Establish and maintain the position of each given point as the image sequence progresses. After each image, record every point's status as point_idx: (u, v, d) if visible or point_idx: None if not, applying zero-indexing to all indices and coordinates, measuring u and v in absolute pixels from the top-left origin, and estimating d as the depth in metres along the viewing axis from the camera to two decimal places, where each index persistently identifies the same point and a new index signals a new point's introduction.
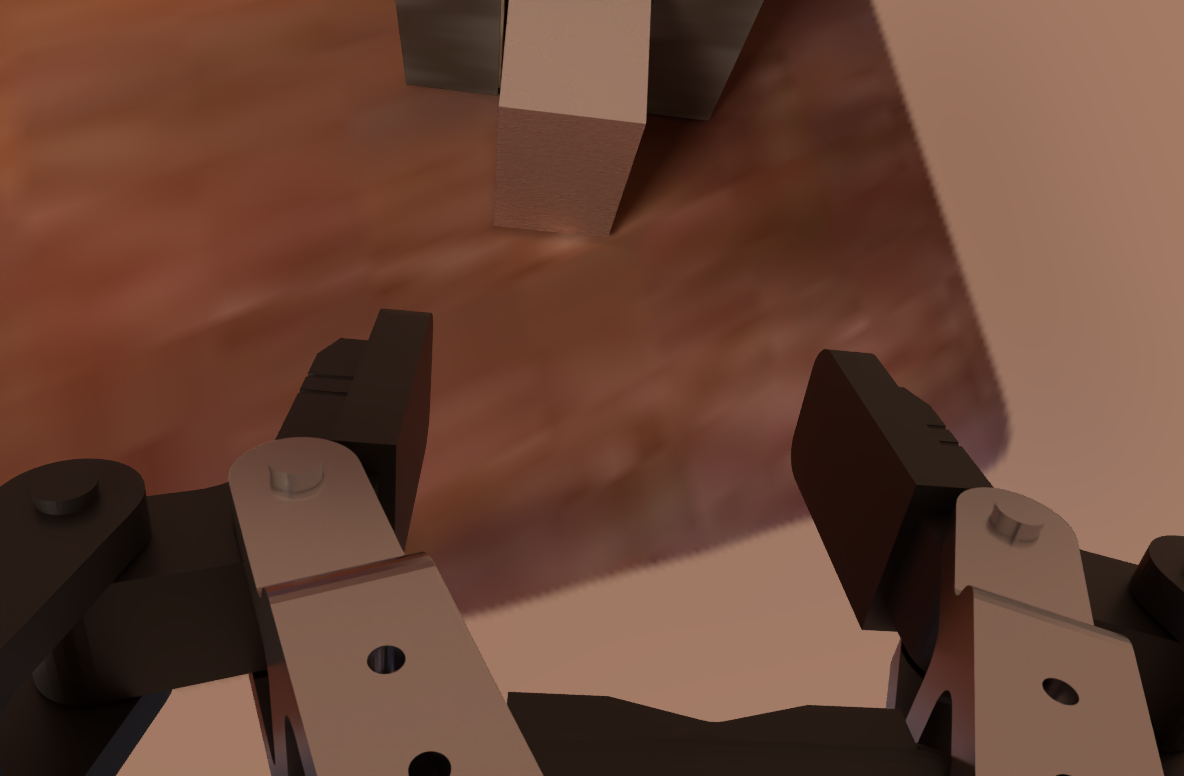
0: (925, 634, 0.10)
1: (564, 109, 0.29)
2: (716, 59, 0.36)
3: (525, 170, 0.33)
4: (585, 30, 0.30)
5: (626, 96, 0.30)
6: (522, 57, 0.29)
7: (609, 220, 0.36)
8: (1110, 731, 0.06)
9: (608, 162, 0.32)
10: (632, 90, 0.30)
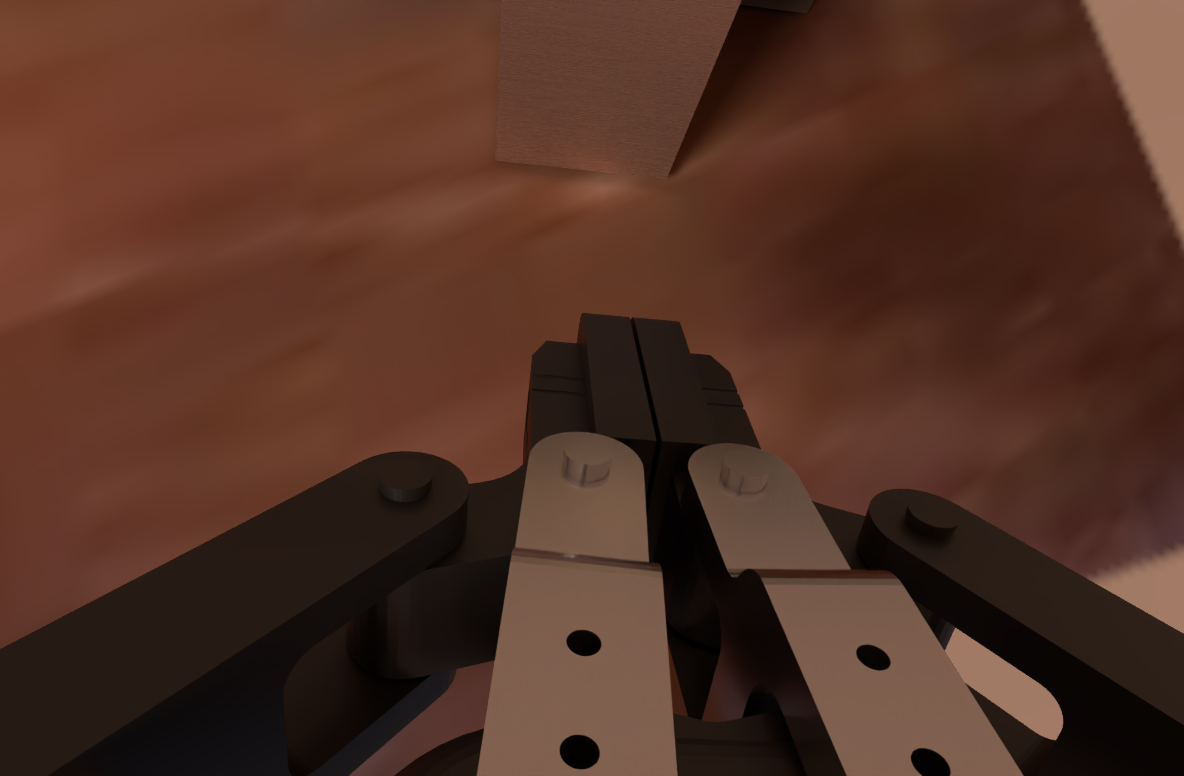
0: (686, 605, 0.09)
1: None
2: None
3: (546, 53, 0.20)
4: None
5: None
6: None
7: (672, 148, 0.24)
8: (925, 681, 0.06)
9: (685, 34, 0.19)
10: None
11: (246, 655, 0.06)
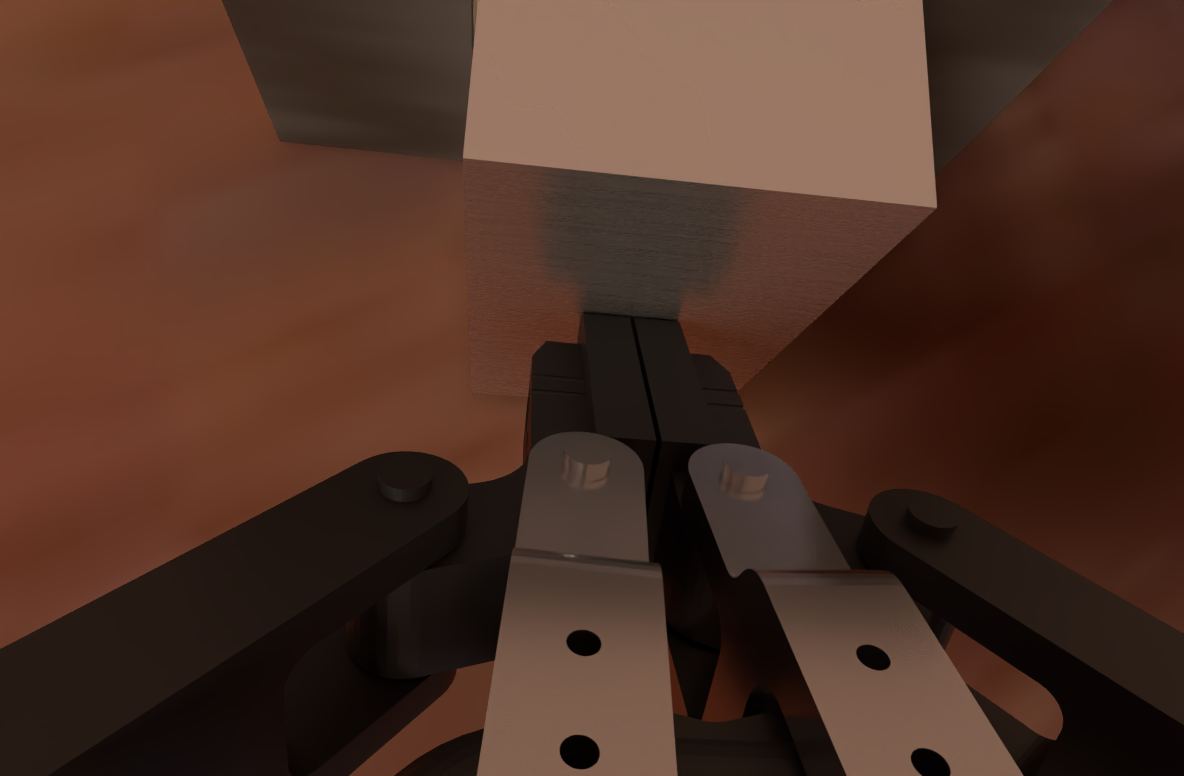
0: (685, 605, 0.09)
1: (677, 166, 0.09)
2: (977, 87, 0.16)
3: (543, 308, 0.13)
4: None
5: (870, 118, 0.09)
6: (538, 0, 0.09)
7: None
8: (925, 681, 0.06)
9: (771, 295, 0.12)
10: (886, 99, 0.09)
11: (246, 655, 0.06)
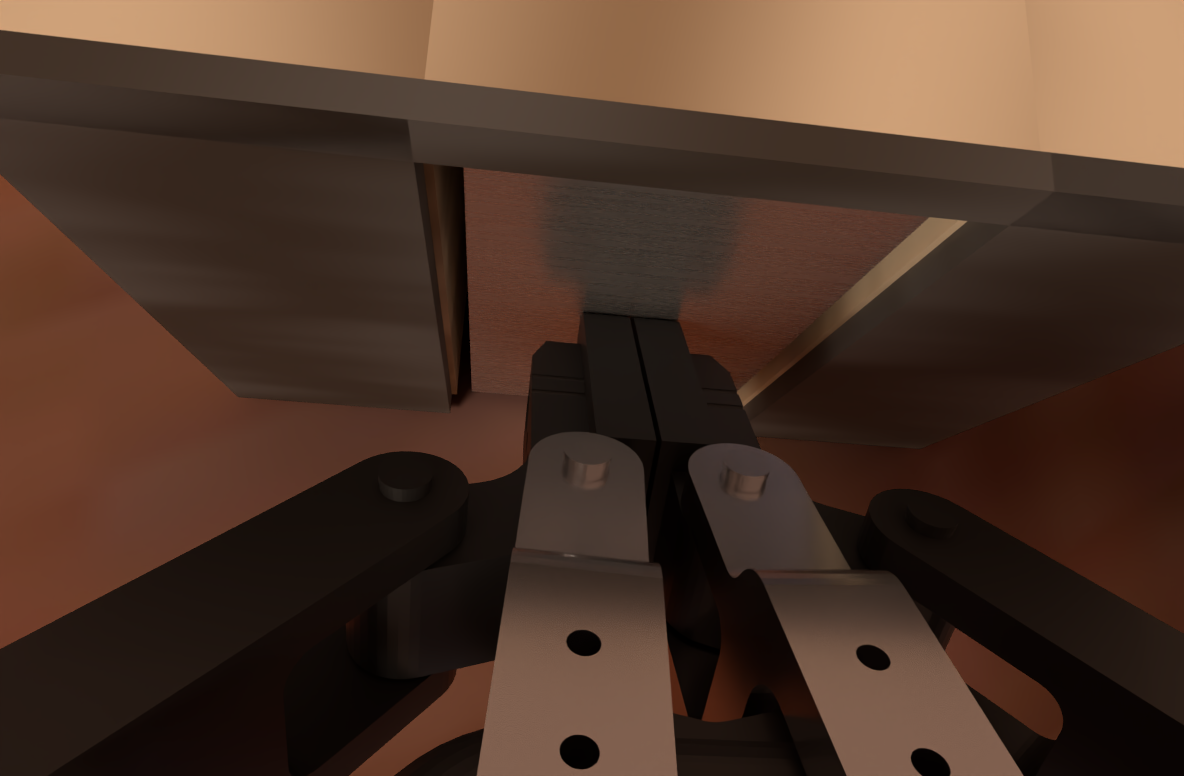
0: (685, 605, 0.09)
1: None
2: (1003, 392, 0.14)
3: (543, 307, 0.13)
4: None
5: None
6: None
7: None
8: (925, 681, 0.06)
9: (771, 296, 0.12)
10: None
11: (246, 655, 0.06)
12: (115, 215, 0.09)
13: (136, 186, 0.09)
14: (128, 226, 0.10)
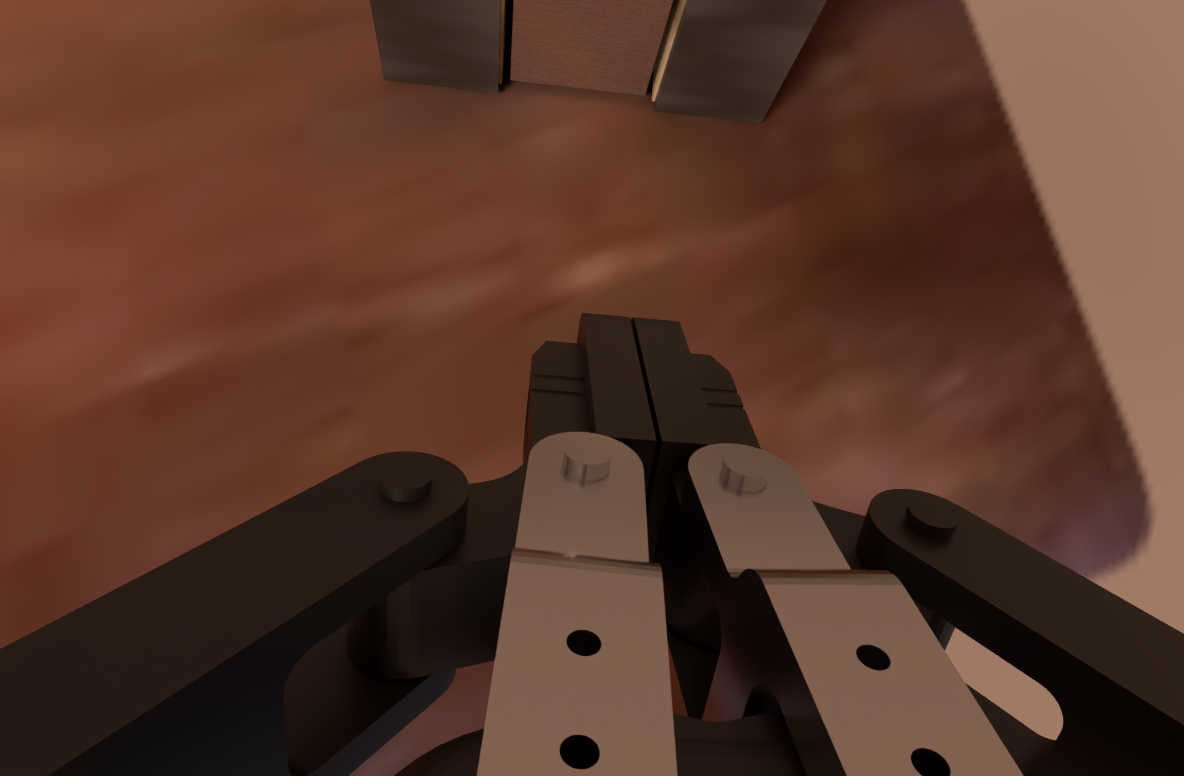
0: (685, 605, 0.09)
1: None
2: (777, 42, 0.28)
3: None
4: None
5: None
6: None
7: (648, 67, 0.30)
8: (926, 681, 0.06)
9: None
10: None
11: (246, 655, 0.06)
12: None
13: None
14: None
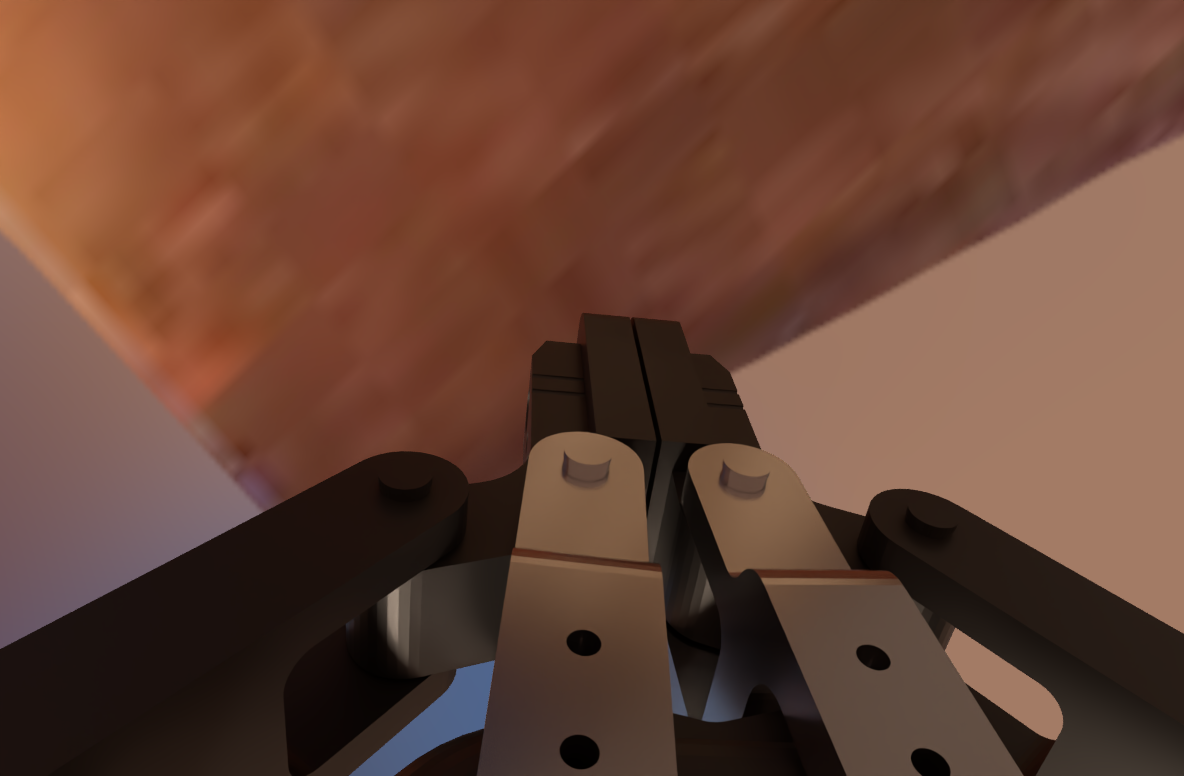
0: (686, 604, 0.09)
1: None
2: None
3: None
4: None
5: None
6: None
7: None
8: (925, 681, 0.06)
9: None
10: None
11: (246, 655, 0.06)
12: None
13: None
14: None
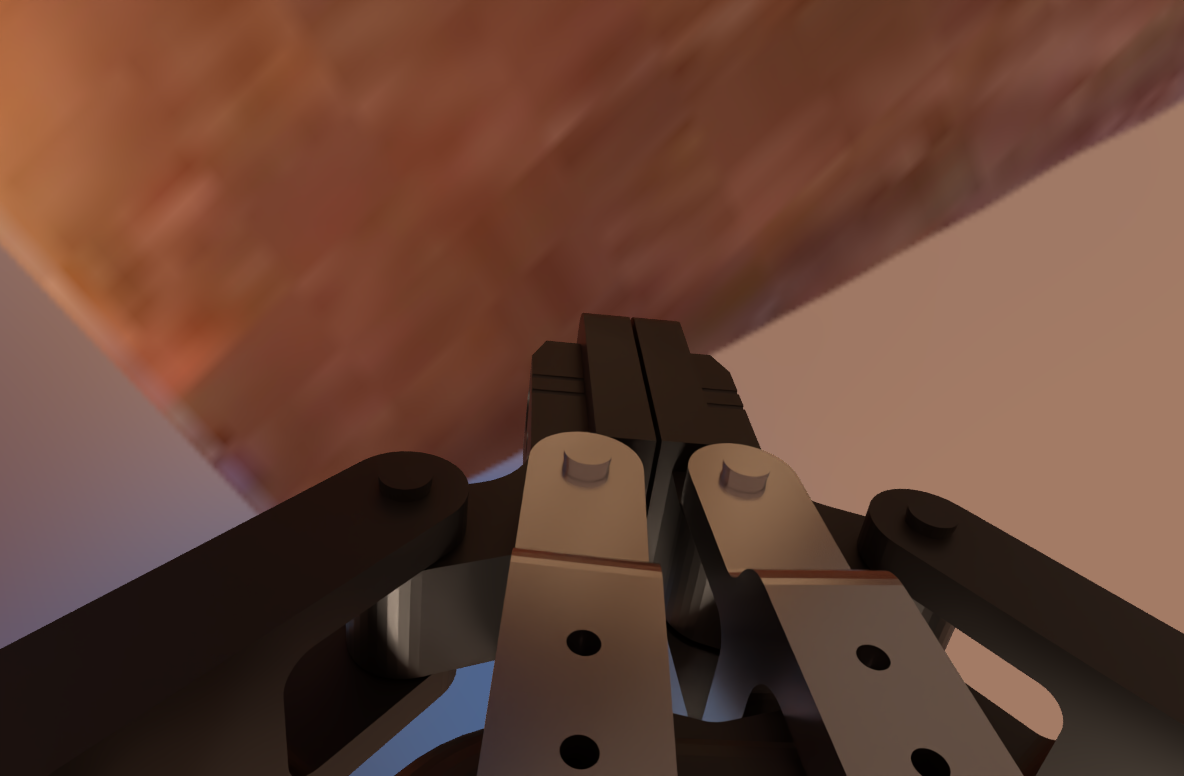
0: (686, 605, 0.09)
1: None
2: None
3: None
4: None
5: None
6: None
7: None
8: (926, 681, 0.06)
9: None
10: None
11: (246, 655, 0.06)
12: None
13: None
14: None
